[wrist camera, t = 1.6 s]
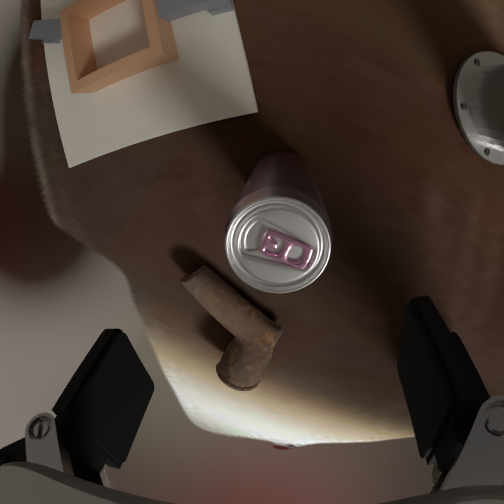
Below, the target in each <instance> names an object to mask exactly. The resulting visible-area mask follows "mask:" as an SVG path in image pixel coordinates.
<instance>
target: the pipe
mask: <svg viewBox="0 0 504 504" xmlns="http://www.w3.org/2000/svg"><path fill="white" fill-rule="evenodd" d="M180 282H181V283H182V285H183V286H184V287H185V288H186V289H187V290H188V292H189V293H190V294H191V295H192V296H193V297H194V298H195V299H196V300H197V301H198V302H199V303H200V304H201V305H202V306H203V307H204V308H205V309H206V310H207V311H208V312H209V313H210V314H211V315H212V316H213V317H214V318H215V319H216V320H217V321H218V322H219V323H220V324H221V325H222V326H224V327H225V328H226V329H227V330H228V331H229V332H231V333H232V334H233V335H234V336H235V338H234V339H233V340H232V341H231V342H230V344H229V345H228V346H227V348H226V350H225V352H224V353H223V355H222V358H221V360H220V362H219V363H218V364H217V366H216V371H217V374H218V376H219V378H220V380H221V381H222V382H223V383H225V384H226V385H227V386H229V387H231V388H233V389H235V390H239V391H249V390H252V389H254V388H256V387H257V386H258V383H259V382H260V381H261V378H262V376H263V374H264V372H265V370H266V368H267V366H268V363H269V361H270V359H271V356H272V353H273V349H274V347H275V345H276V343H277V341H278V339H279V338H280V336H281V334H282V333H283V329H282V326H281V325H279V324H276V323H275V322H273V321H271V320H270V319H268V318H267V317H266V316H265V315H264V314H263V313H262V312H260V311H259V310H258V309H257V308H256V307H254V306H253V305H252V304H251V303H249V302H248V301H247V300H246V299H244V298H243V297H242V296H241V295H240V294H238V293H237V292H236V291H235V290H234V289H233V288H232V287H231V286H229V285H228V284H227V283H226V282H225V281H224V280H223V279H222V278H220V277H219V276H218V275H217V274H216V273H215V272H214V271H213V270H211V269H210V268H209V267H208V266H206V265H203V266H202V267H200V268H199V269H198V270H196V271H195V272H193V273H192V274H187V275H185V276H184V277H183V278H181V279H180Z"/></svg>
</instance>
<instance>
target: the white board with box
mask: <svg viewBox="0 0 504 504" xmlns="http://www.w3.org/2000/svg"><path fill="white" fill-rule="evenodd" d="M41 16H42V20H36V21H34V22H33V25H32V28H31V31H30V35H29V38H28V39H38V40H43V43H44V48H45V56H46V64H47V70H48V77H49V83H50V88H51V94H52V99H53V104H54V109H55V114H56V118H57V123H58V127H59V131H60V135H61V139H62V143H63V147H64V151H65V155H66V158H67V162H68V165H69V168H71V167H73V166H76V165H78V164H81V163H83V162H86V161H88V160H91V159H93V158H96V157H99V156H101V155H104V154H107V153H109V152H112V151H115V150H118V149H121V148H124V147H127V146H130V145H133V144H136V143H139V142H142V141H145V140H148V139H151V138H155V137H158V136H161V135H165V134H168V133H172V132H175V131H179V130H182V129H186V128H190V127H194V126H198V125H201V124H205V123H210V122H214V121H218V120H222V119H227V118H231V117H236V116H241V115H245V114H250V113H255V112H258V108H257V103H256V99H255V94H254V90H253V85H252V81H251V76H250V72H249V68H248V63H247V59H246V55H245V50H244V46H243V42H242V38H241V33H240V29H239V25H238V21H237V17H236V13H235V9H234V5H233V1H232V0H41Z"/></svg>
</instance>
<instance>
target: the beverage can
mask: <svg viewBox="0 0 504 504" xmlns="http://www.w3.org/2000/svg"><path fill="white" fill-rule="evenodd" d="M332 237H333V236H332V228H331V224H330V221H329V218H328V215H327V212H326V209H325V206H324V203H323V200H322V197H321V194H320V191H319V189H318V186H317V183H316V180H315V177H314V175H313V172H312V170H311V168H310V166H309V165H308V163H307V162H306V161H305V160H304V159H303V158H301V157H300V156H298V155H296V154H293V153H290V152H275V153H271V154H269V155H267V156H265V157H264V158H262V159H261V160H260V161H259V162H258V163H257V165H256V166H255V168H254V170H253V172H252V174H251V176H250V177H249V179H248V181H247V183H246V185H245V187H244V189H243V190H242V192H241V194H240V196H239V198H238V200H237V202H236V204H235V206H234V208H233V209H232V211H231V213H230V215H229V217H228V220H227V223H226V227H225V253H226V257H227V260H228V262H229V264H230V266H231V268H232V269H233V271H234V272H235V273H236V275H237V276H238V277H239V278H240V279H242V280H243V281H244V282H245V283H247V284H248V285H250V286H252V287H254V288H256V289H258V290H261V291H265V292H270V293H288V292H293V291H296V290H299V289H302V288H304V287H306V286H307V285H309V284H311V283H312V282H313V281H315V280H316V279H317V278H318V277H319V276H320V275H321V273H322V272H323V271H324V269H325V267H326V265H327V263H328V261H329V258H330V254H331V246H332Z"/></svg>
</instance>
